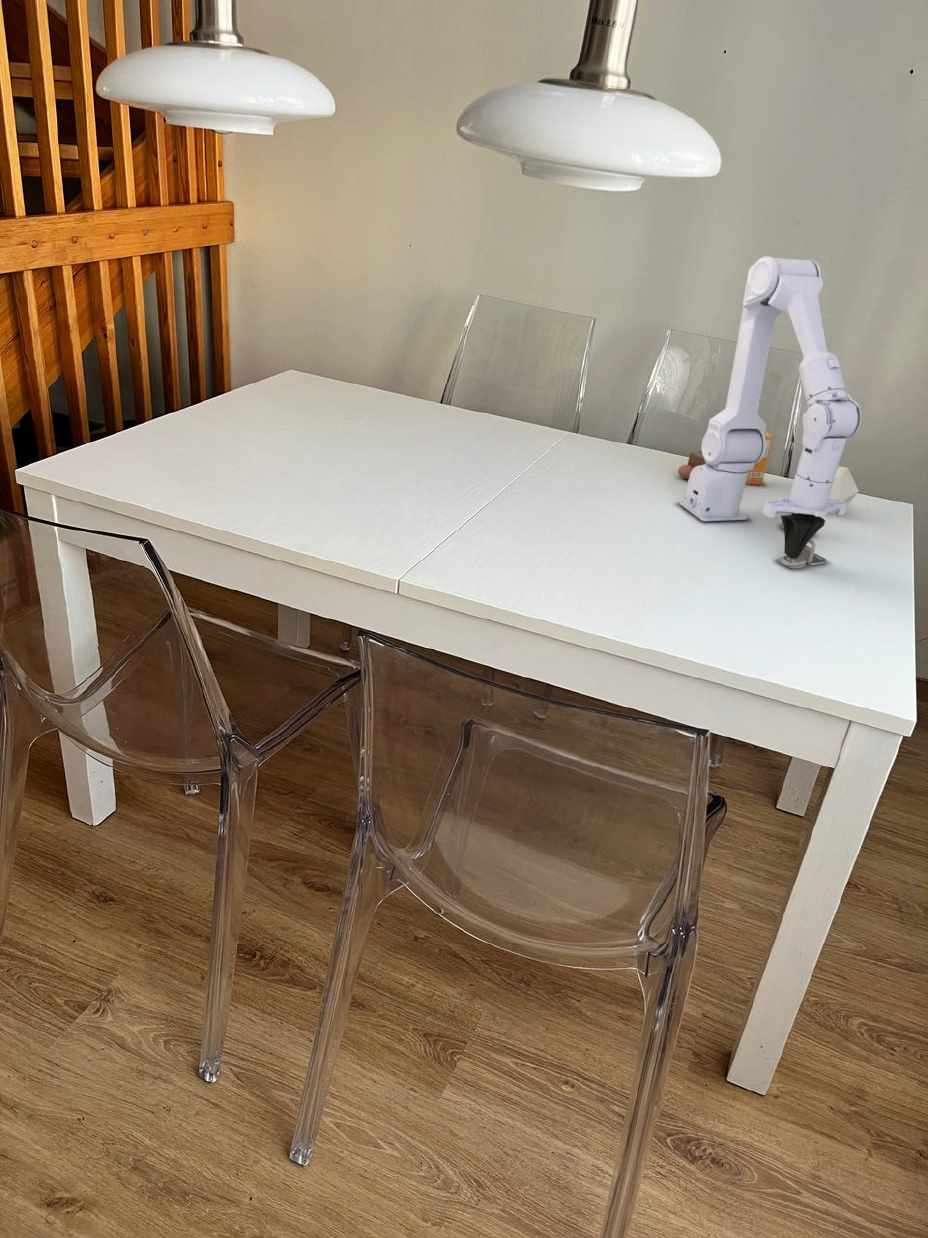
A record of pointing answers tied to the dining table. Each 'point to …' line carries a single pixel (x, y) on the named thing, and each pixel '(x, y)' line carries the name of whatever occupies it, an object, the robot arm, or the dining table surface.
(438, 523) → the dining table surface
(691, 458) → the walnut block
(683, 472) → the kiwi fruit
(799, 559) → the strap clip
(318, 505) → the dining table surface
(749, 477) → the supplement box
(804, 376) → the robot arm
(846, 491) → the die
